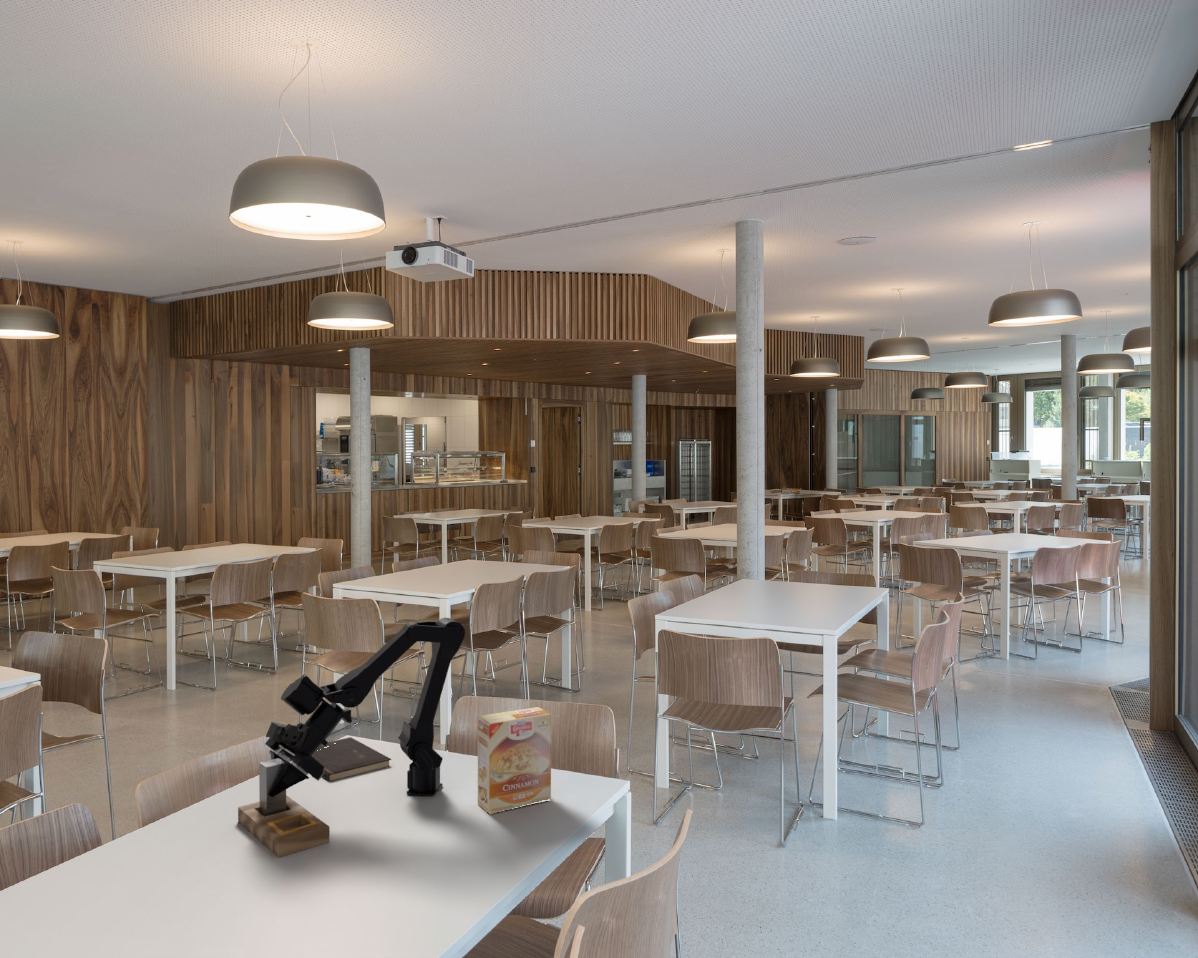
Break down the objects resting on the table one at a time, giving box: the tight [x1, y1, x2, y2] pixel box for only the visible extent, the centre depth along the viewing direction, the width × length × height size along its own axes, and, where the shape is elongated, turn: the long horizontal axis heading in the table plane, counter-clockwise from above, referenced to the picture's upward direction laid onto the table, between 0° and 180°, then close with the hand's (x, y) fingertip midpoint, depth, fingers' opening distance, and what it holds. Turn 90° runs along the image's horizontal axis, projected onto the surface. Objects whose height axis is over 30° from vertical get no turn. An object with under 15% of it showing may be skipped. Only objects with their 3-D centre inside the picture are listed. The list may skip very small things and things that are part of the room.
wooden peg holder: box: [237, 794, 330, 858], centre depth 170 cm, size 22×10×3 cm, turn 42°
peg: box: [258, 758, 287, 817], centre depth 173 cm, size 4×4×12 cm
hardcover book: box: [312, 736, 392, 782], centre depth 211 cm, size 16×23×2 cm
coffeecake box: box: [477, 706, 552, 815], centre depth 184 cm, size 15×7×20 cm, turn 120°
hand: (266, 792), depth 172 cm, fingers closed on peg, 4 cm apart
